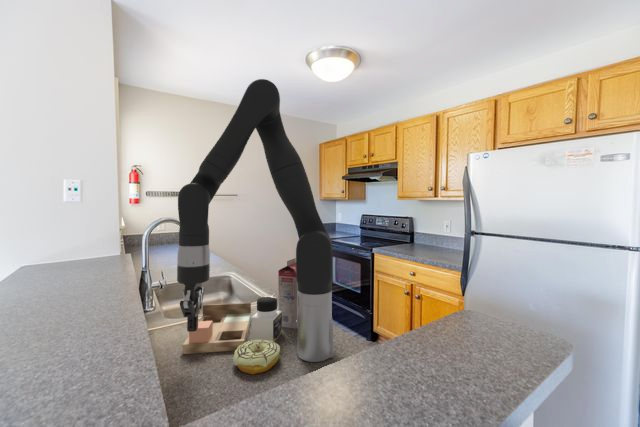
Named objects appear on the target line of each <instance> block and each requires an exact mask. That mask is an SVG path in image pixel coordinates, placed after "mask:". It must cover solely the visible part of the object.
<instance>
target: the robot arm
mask: <svg viewBox="0 0 640 427" xmlns="http://www.w3.org/2000/svg"><path fill="white" fill-rule="evenodd" d="M280 97H281V96H280V92H279V89H278V87H277V86H276V85H275V83H273V82H272V81H271V80H269V79H266V78H265V79H264V78H259V79H256V80H253V81H252V82H251V83H249V85H248V86H247V87H246V89H245V92H244V93H243V96H242V98H241V99H240V102H239V104H238V107H237V108H236V110H235V112H234V114H233V116H232V117H231V119H230V121H229V123H228V124H227V126H226V127H225V129H224V131H223V132H222V134H221V135H220V137H219V139H217V141H216V143H215V144H214V145H213V146H212V148H211V149H210V151H209V152H208V153H207V154H206V156H205V158H204V159H203V161H202V162H201V164H200V165H199V168H198V172H197V173H196V175H195V176H194V177H193V178H192V180H191V181H190V182H189V183H188V184H185V185H183V186H182V187H181V189H179V192H178V196H177V210H178V219H179V229H178V230H179V231H178V249H177V257H176V258H177V261H176V263H177V267H176V268H177V270H176V281H177V283H178V284H182V285H184V290H182V298H183V300H180V301H179V306H180V310H181V313H182V315H183V317H184V318H187V324H186V325H187V326H186V328H187V329H186V330H187V332H188V333H189V332H194V331H196V330H197V328H198V321H199V314H201V313H200V311H201V310H202V309H203V301H204V297H205V296H204V295H205V291H206V288H205V287H203V283H206V282H208V281H209V280H210V271H211V270H210V267H211V265H210V264H211V263H210V262H211V259H210V258H211V251H210V228H209V227H210V226H209V206H210V203H211V201H212V200H213V199H214V197H215V195H216V194H217V192H218V191H219V189H220V187H221V186H222V184H223V183H224V182H225V180H226V179H227V178H228V176H229V175H230V174H231V173H232V171H233V170H234V168H235V167H236V165H237V164H238V162H239V161H240V159H241V157H242V155H243V153H244V150H245V148H246V146H247V145H248V141H249V140H250V137H251V136H252V134H253V133H254V131H255V130H256V132H257V134H258V136H259V138H260V140H261V143H262V146H263V150H264V155H265V159H266V162H267V163H266V164H267V166H268V170H269V173H270V176H271V178H272V182H273V184H274V187H275V189H276V192H277V194H278V196H279V198H280V199H281V201H282V203H283V205H284V206H285V207H286V209H287V211H288V212H289V214H290V216H291V218H292V220H293V222H294V226H295V229H296V231H297V232H296V233H297V236H298V240H297V244H296V249H295V258H296V279H297V283H298V328H297V334H296V335H297V340H296V341H297V348H296V349H297V351H296V352H297V356H298V357H299V359H301V360H303V361H306V362H308V363H309V362H310V363H318V362H319V363H320V362H324V361H327V360H328V359H332V358H334V320H333V316H332V312H333V311H332V310H333V308H332V307H333V303H332V302H333V299H332V296H333V293H332V292H333V278H332V277H333V276H332V274H333V273H332V269H333V268H332V262H333V261H332V260H333V259H332V258H333V256H332V252H333V241H332V239H331V237H330V235H329V233H328V230H327V229H326V227H325V225H324V223H323V221H322V219H321V217H320V214H319V211H318V209H317V207H316V202H315V199H314V198H315V197H314V194H313V191H312V187H311V184H310V181H309V177H308V175H307V172H306V168H305V167H304V164H303V161H302V159H301V157H300V155H299V153H298V151H297V150H296V148H295V147H294V146H293V144H292V142H291V141H290V139H289V137H288V136H287V133H286V131H285V127H284V123H283V121H282V117H281V115H282V114H281V111H280V109H281V108H280V105H281V98H280Z"/></svg>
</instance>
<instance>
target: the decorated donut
mask: <svg viewBox="0 0 640 427" xmlns="http://www.w3.org/2000/svg"><path fill="white" fill-rule="evenodd" d="M233 354H234V355H233V358H232V362H233V365H234V366H236V367H237V368H238V370H239V371H241V372H242V373H245V374H249V375H255V374H261V373H265V372H267V371H269V370H270V369H272V368H273V366H275V365H276V364H277V363H278V361H279V359H280V356H281V347H280V345H279V344H278V343H277V342H276V341H275V342H273V341H270V340H261V339H259V340H248V341H246V342H245V343H243V344H241V345H240V346H239V347H238V348H237V349H236V350H234V353H233Z"/></svg>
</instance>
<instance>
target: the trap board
mask: <svg viewBox="0 0 640 427" xmlns="http://www.w3.org/2000/svg"><path fill="white" fill-rule="evenodd" d="M251 318H252V302H233V303H232V302H230V303H211V304H207V303H206V304H205V303H204V304H202V316H201V317H200V319H198V321H213V334H212V336H211V338H210V340H209V342H205V343H190V344H189V335H188V336H187V338H186V339H185V341H184V342H183V343H182V354H183V355H187V354H188V355H189V354H200V353H201V354H202V353H203V354H204V353H216V352H217V353H219V352H228V351H232V352H233V351H235V350H236V349H237V348H238V347H239V346H240V345H241V344H243V343H245V342H247V339H248V333H249V329H250V327H251Z"/></svg>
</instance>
